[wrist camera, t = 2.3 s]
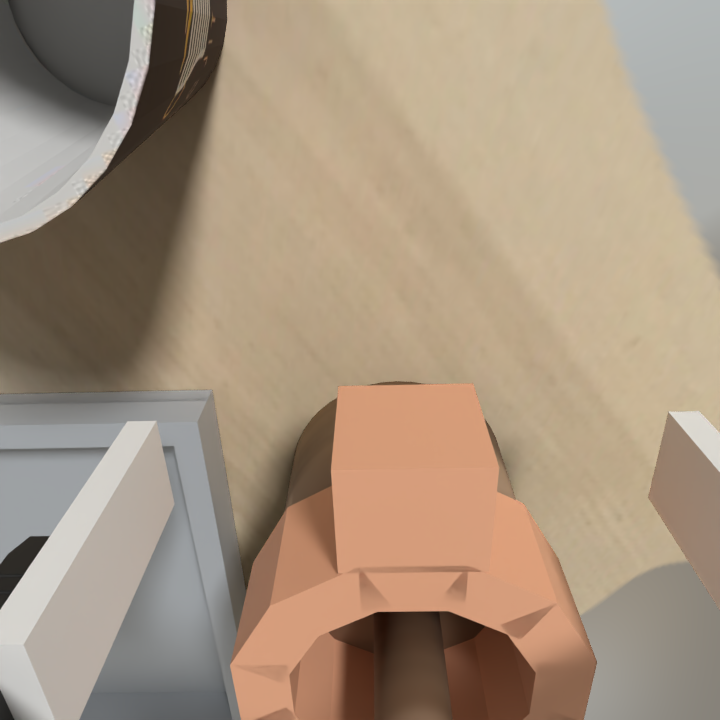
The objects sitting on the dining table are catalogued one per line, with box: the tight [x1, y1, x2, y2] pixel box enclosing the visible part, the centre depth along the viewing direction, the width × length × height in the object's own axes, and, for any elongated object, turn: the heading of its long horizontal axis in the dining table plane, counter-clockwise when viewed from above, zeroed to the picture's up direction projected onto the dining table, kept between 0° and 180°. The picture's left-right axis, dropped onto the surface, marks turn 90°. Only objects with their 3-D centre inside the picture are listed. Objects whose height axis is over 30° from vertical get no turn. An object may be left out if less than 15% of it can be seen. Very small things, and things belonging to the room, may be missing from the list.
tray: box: [0, 390, 246, 720], centre depth 26 cm, size 18×14×2 cm
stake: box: [284, 381, 516, 720], centre depth 17 cm, size 8×8×16 cm
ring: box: [230, 383, 597, 720], centre depth 17 cm, size 12×9×4 cm
